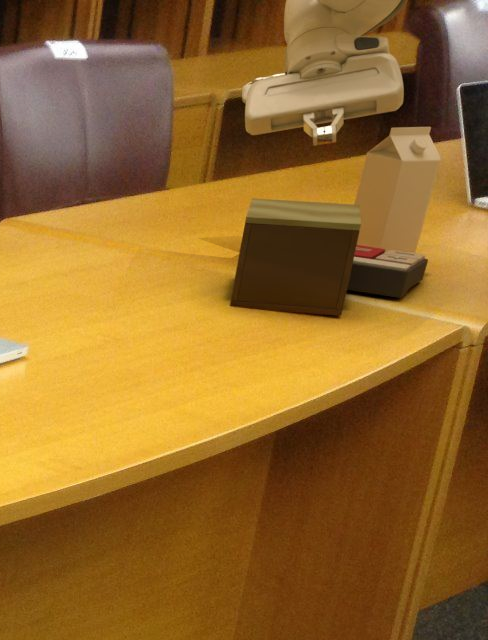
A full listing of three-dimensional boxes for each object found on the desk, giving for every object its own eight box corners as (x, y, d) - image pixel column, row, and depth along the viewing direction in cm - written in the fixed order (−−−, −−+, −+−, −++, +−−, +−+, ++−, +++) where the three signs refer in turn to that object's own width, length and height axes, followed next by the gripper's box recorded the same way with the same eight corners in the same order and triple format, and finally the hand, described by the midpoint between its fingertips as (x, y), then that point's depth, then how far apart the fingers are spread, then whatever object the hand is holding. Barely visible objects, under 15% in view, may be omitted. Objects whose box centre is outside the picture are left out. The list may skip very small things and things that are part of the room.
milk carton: (340, 254, 234) (373, 124, 225) (378, 252, 236) (412, 123, 227) (374, 265, 228) (410, 131, 219) (413, 263, 230) (449, 130, 221)
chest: (235, 286, 214) (249, 207, 210) (341, 295, 209) (358, 214, 205) (229, 306, 203) (244, 223, 198) (341, 316, 198) (359, 230, 193)
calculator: (430, 253, 216) (409, 266, 205) (421, 284, 218) (400, 298, 207) (348, 241, 222) (324, 253, 211) (340, 271, 224) (315, 284, 213)
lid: (250, 204, 212) (252, 198, 211) (358, 210, 207) (359, 204, 206) (245, 222, 198) (246, 216, 198) (359, 230, 193) (361, 224, 193)
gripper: (240, 65, 220) (242, 138, 215) (400, 34, 211) (407, 110, 206) (242, 97, 225) (244, 169, 220) (398, 68, 217) (405, 143, 211)
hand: (324, 140), depth 213 cm, fingers closed
